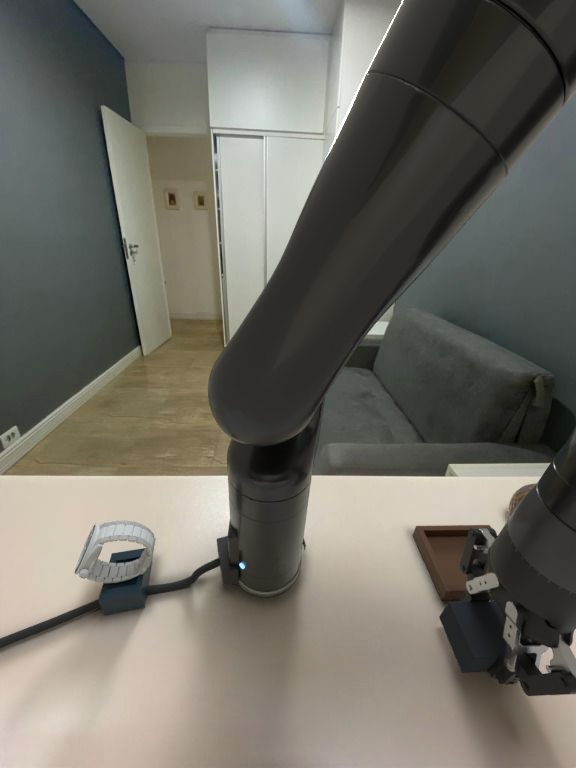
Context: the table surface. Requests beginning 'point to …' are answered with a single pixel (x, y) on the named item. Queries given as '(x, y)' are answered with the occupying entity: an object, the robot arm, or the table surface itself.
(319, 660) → the table surface
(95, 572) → the watch
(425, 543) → the brown tray
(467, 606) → the dark blue rectangular block
